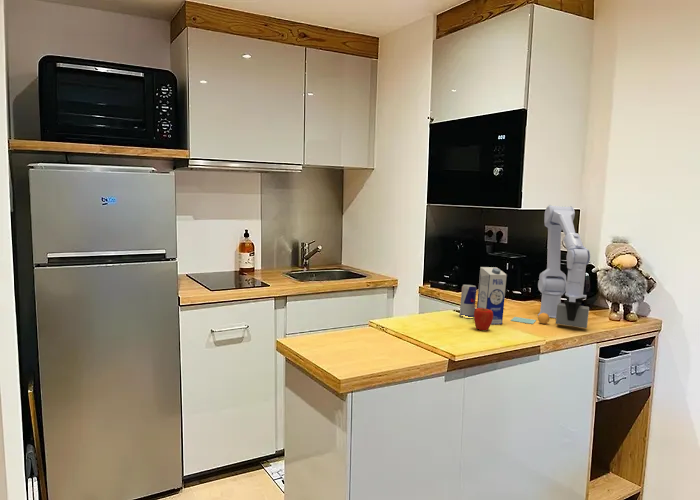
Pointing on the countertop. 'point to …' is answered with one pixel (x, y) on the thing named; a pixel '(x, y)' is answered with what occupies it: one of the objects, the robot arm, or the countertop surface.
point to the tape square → (523, 320)
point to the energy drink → (468, 300)
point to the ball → (543, 318)
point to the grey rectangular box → (580, 317)
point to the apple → (483, 318)
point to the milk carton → (492, 292)
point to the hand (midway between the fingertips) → (571, 319)
